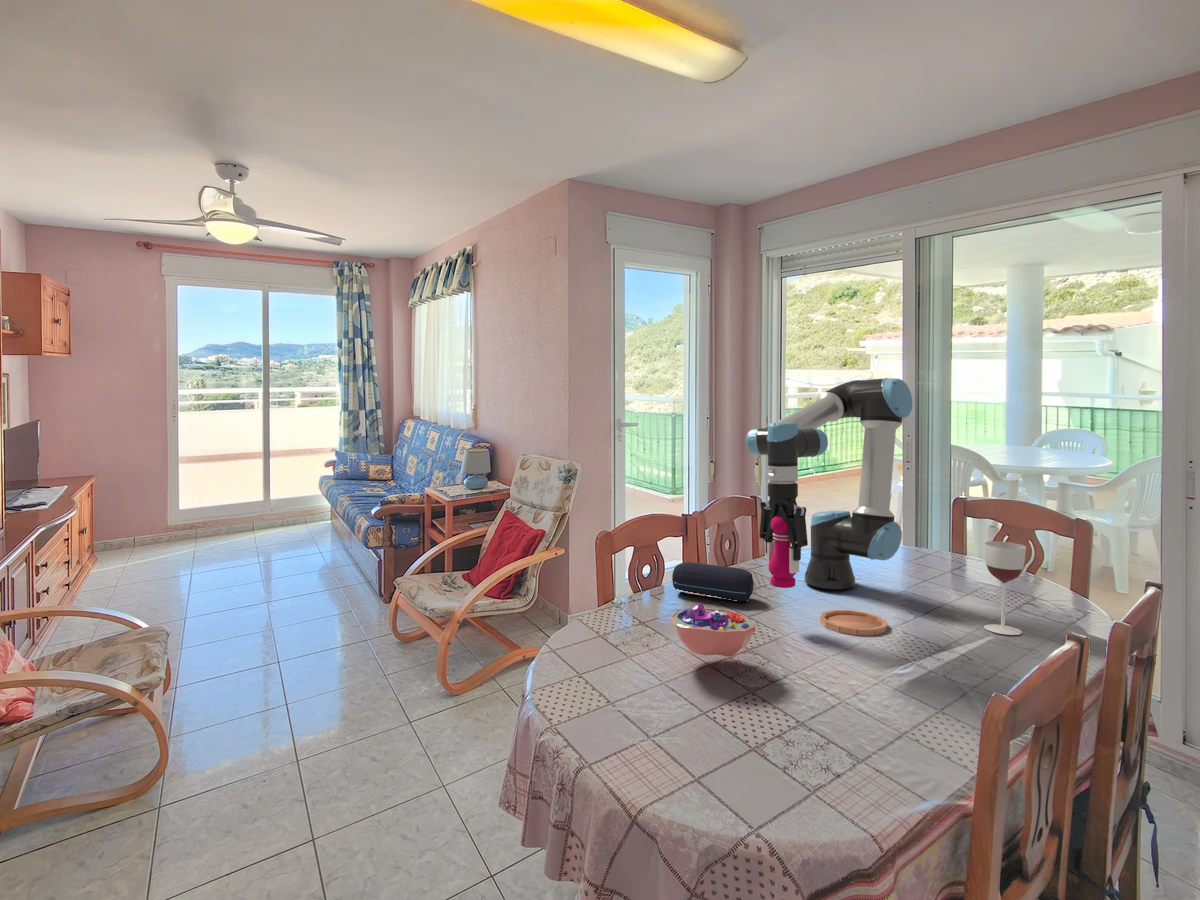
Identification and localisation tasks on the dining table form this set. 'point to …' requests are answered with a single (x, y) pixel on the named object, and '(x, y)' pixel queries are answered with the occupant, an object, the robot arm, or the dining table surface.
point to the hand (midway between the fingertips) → (782, 569)
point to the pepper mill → (780, 555)
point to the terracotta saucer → (853, 622)
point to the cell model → (712, 630)
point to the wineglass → (1004, 574)
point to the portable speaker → (713, 580)
